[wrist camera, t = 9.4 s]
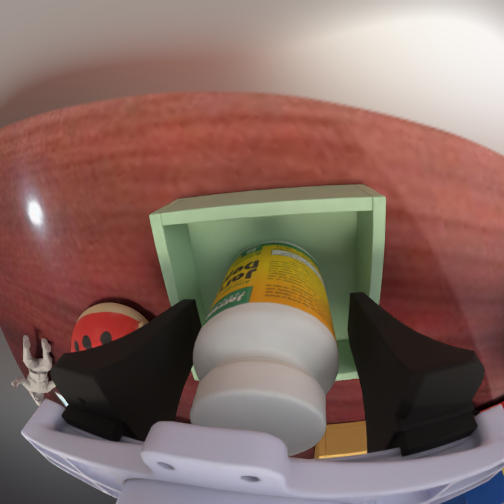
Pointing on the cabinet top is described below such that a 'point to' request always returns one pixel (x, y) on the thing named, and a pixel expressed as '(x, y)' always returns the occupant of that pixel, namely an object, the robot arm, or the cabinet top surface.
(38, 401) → the soldier figure
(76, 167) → the cabinet top surface
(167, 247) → the sage bin
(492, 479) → the toy train
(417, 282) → the cabinet top surface
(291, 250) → the supplement bottle
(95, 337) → the ladybug figurine
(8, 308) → the cabinet top surface
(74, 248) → the cabinet top surface
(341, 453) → the ochre bin
